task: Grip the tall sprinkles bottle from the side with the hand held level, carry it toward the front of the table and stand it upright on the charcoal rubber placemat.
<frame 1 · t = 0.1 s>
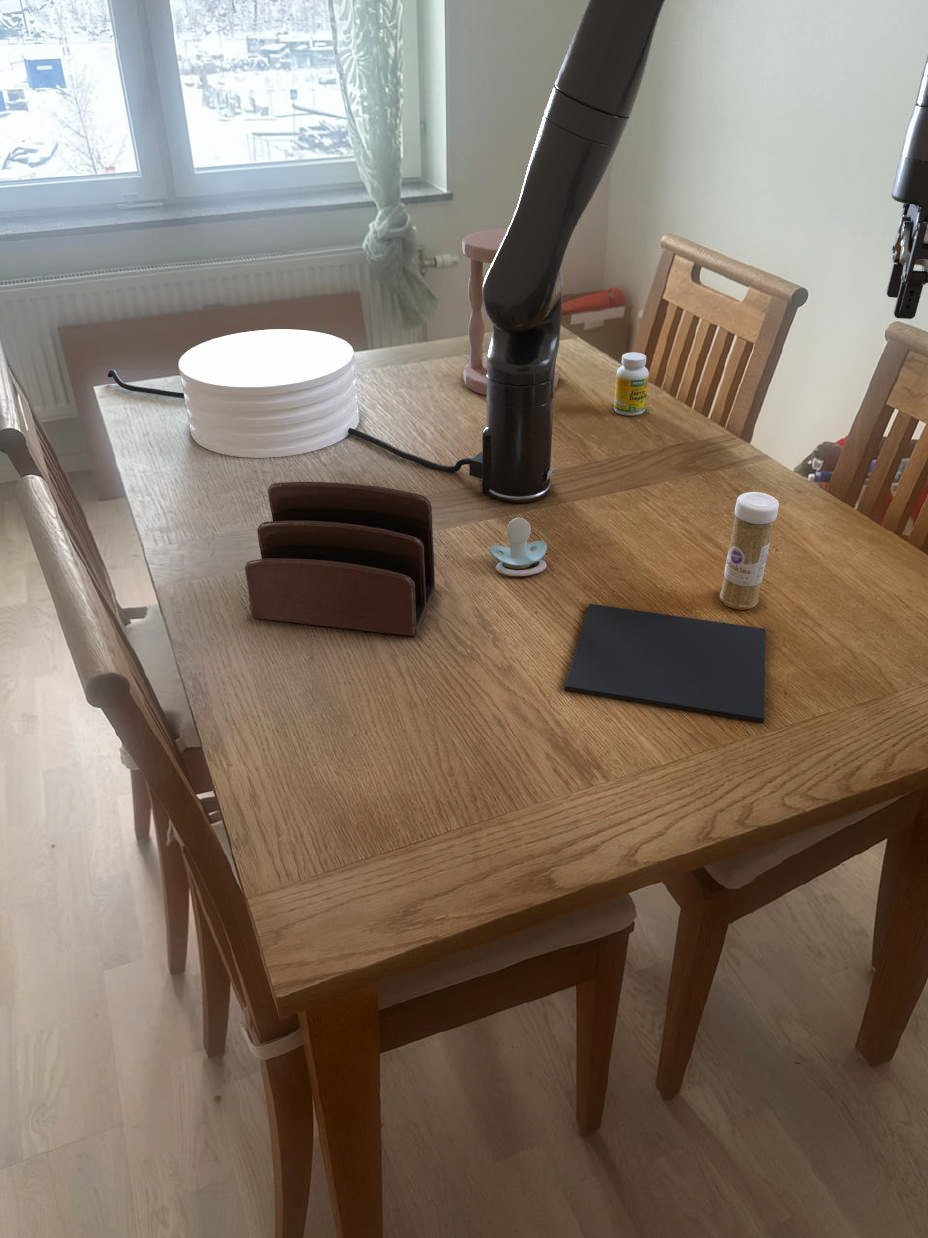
hand: (899, 306, 107), 29 cm above the table, tool pointing down, fingers open, 8 cm apart
hourglass: (510, 382, 171), on the table
sprinkles bottle: (738, 602, 110), on the table
supplement bottle: (629, 411, 158), on the table
pacifier: (519, 567, 116), on the table
plate stack: (276, 423, 155), on the table
placemat: (668, 660, 100), on the table
letter holder: (346, 607, 109), on the table
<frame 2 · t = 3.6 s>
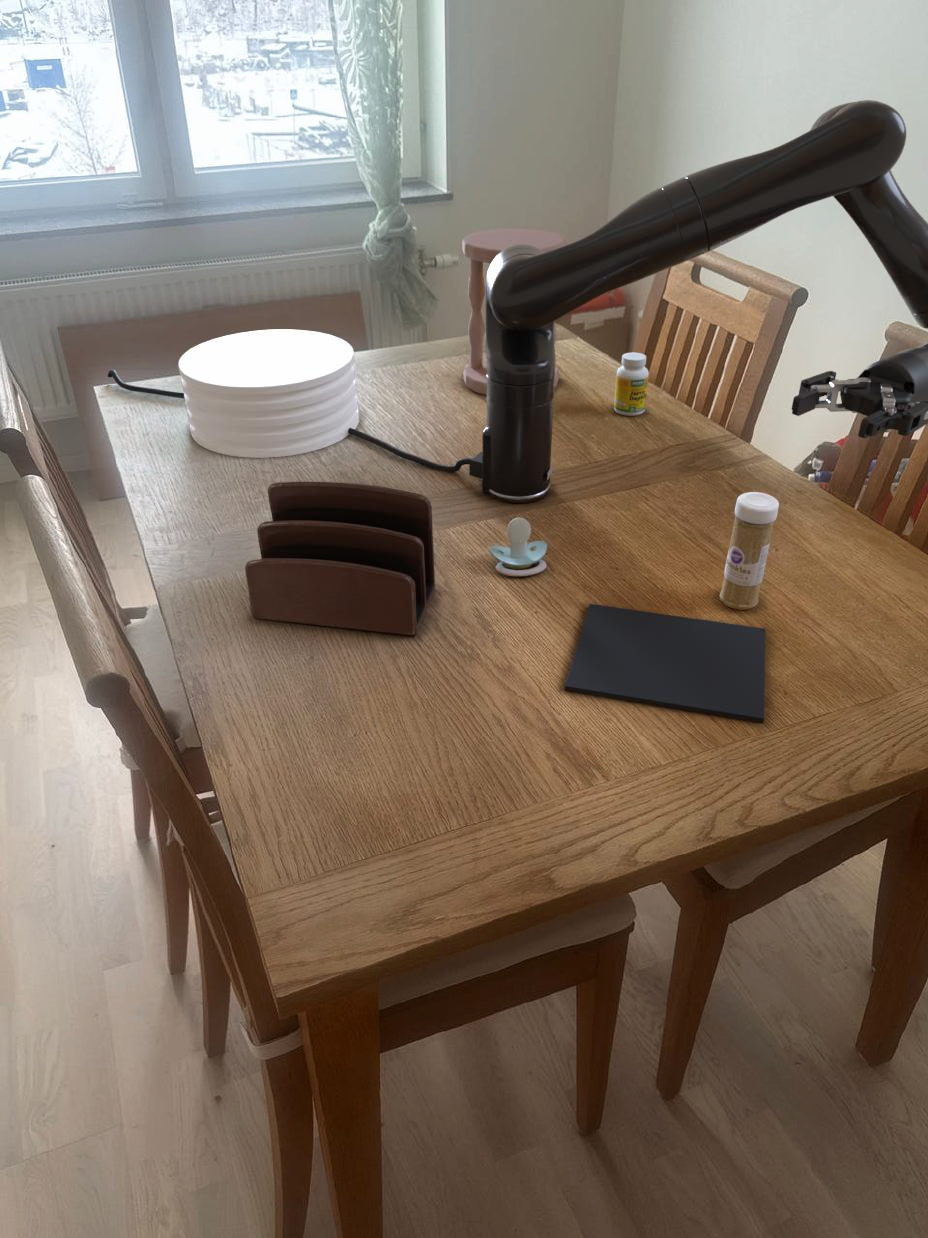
hand: (828, 417, 104), 20 cm above the table, tool horizontal, fingers open, 8 cm apart
nothing on the table moved.
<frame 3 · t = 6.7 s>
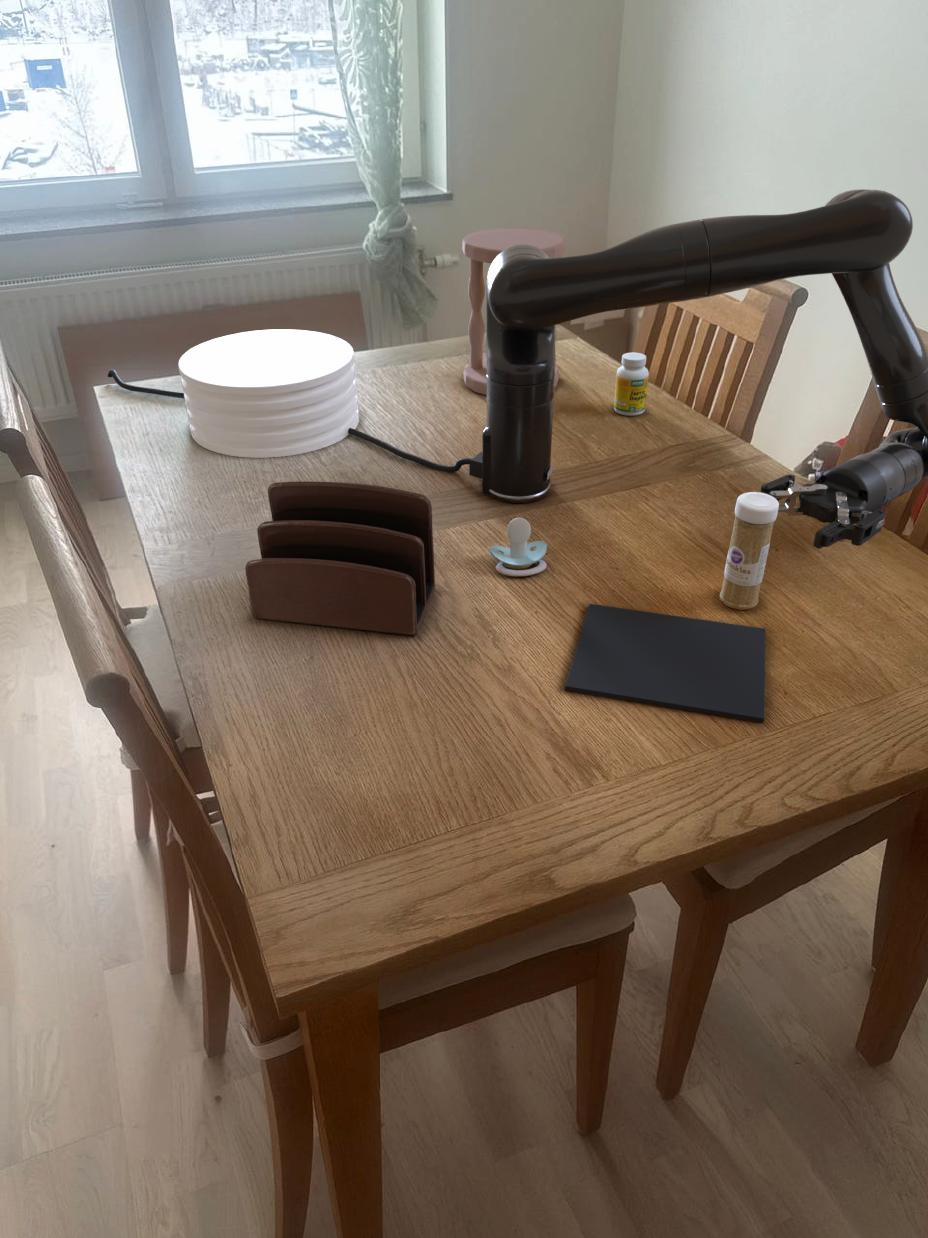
hand: (785, 527, 109), 7 cm above the table, tool horizontal, fingers open, 8 cm apart
nothing on the table moved.
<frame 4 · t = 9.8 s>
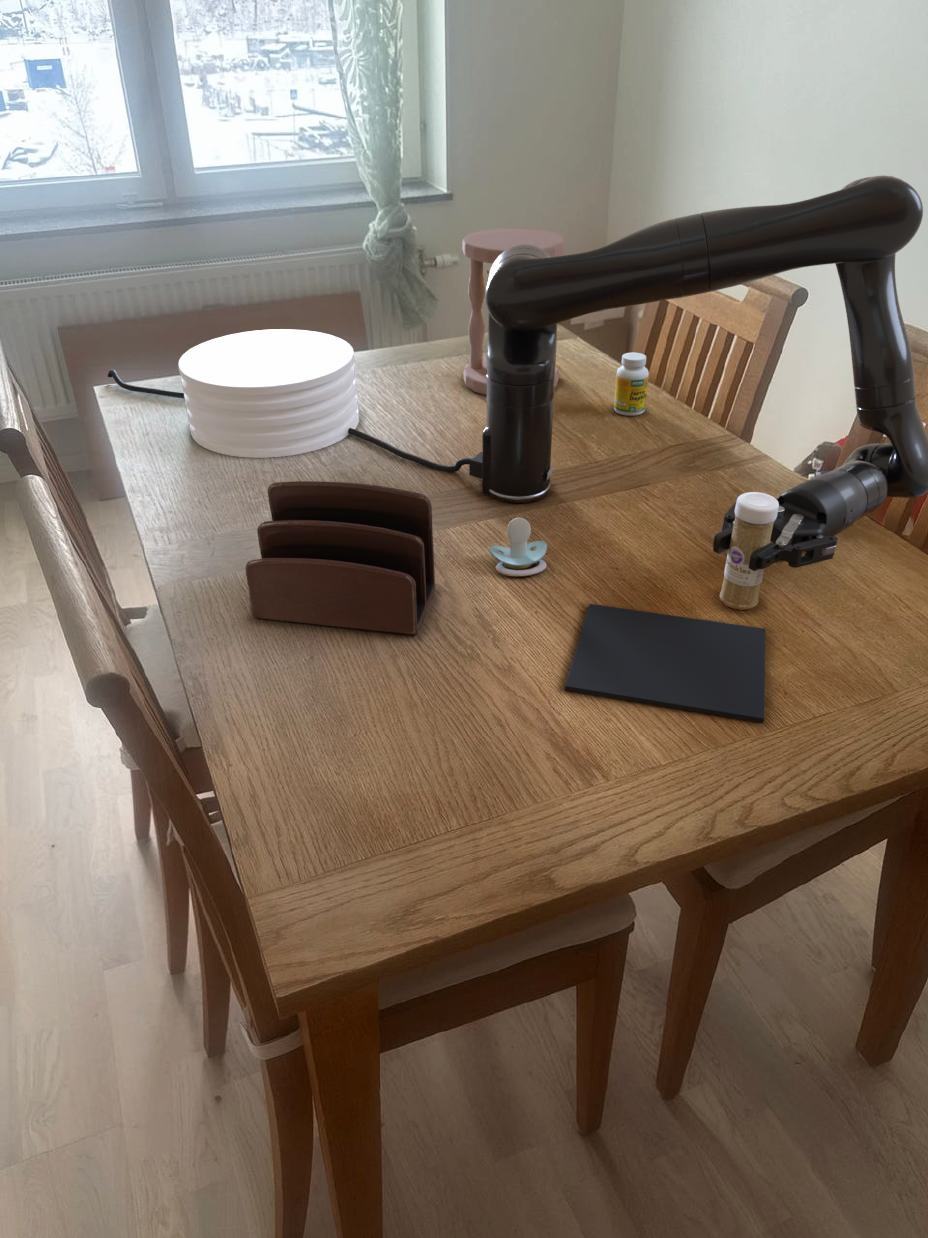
hand: (734, 553, 104), 8 cm above the table, tool horizontal, fingers closed on sprinkles bottle, 4 cm apart
sprinkles bottle: (738, 602, 110), on the table, touching gripper
everything else where it was.
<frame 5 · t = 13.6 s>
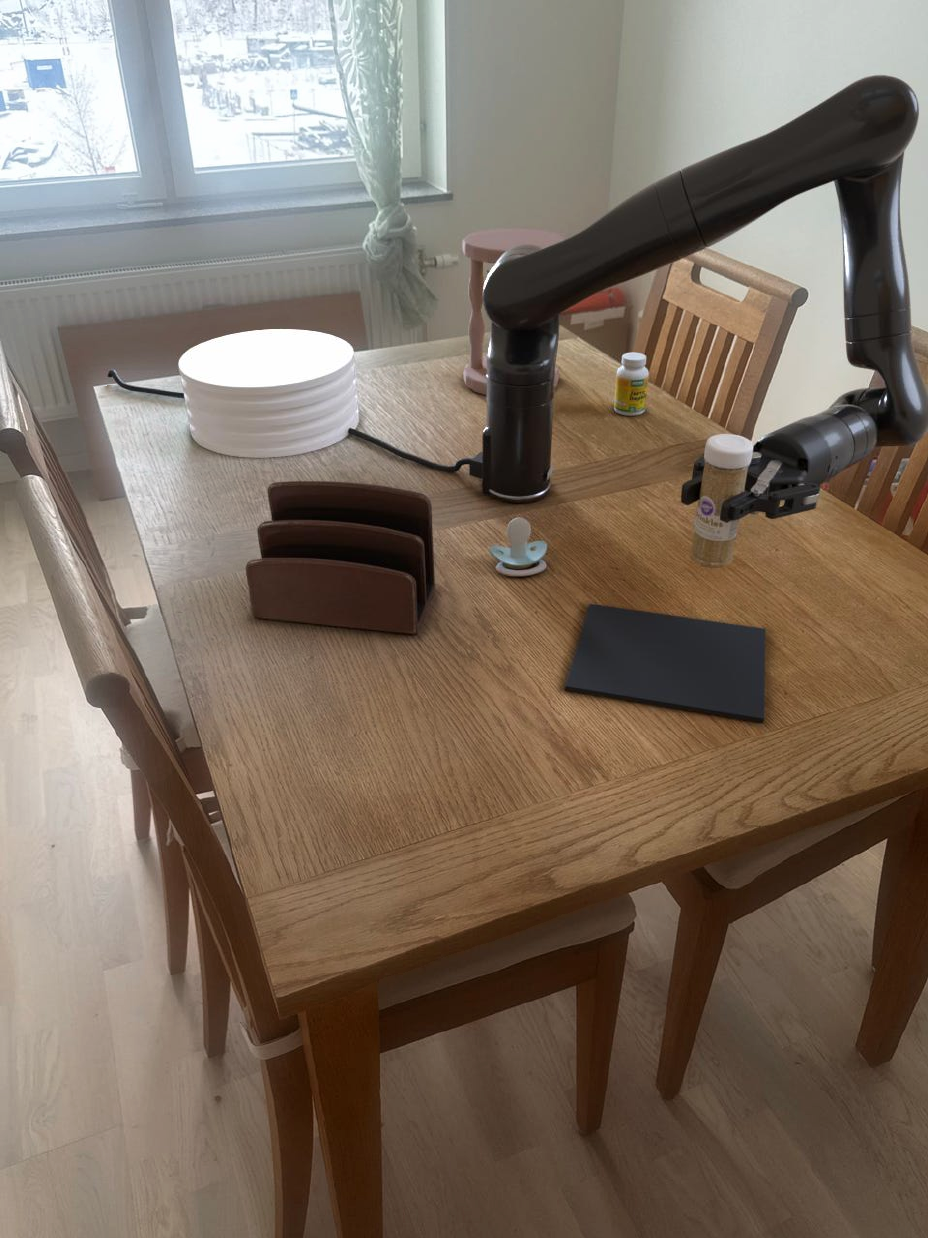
hand: (704, 504, 92), 18 cm above the table, tool horizontal, fingers closed on sprinkles bottle, 4 cm apart
sprinkles bottle: (710, 560, 98), point 10 cm above the table, touching gripper
everything else where it was.
when the fingers open (8 cm above the table, at t = 17.7 s): sprinkles bottle stays where it is, resting on placemat.
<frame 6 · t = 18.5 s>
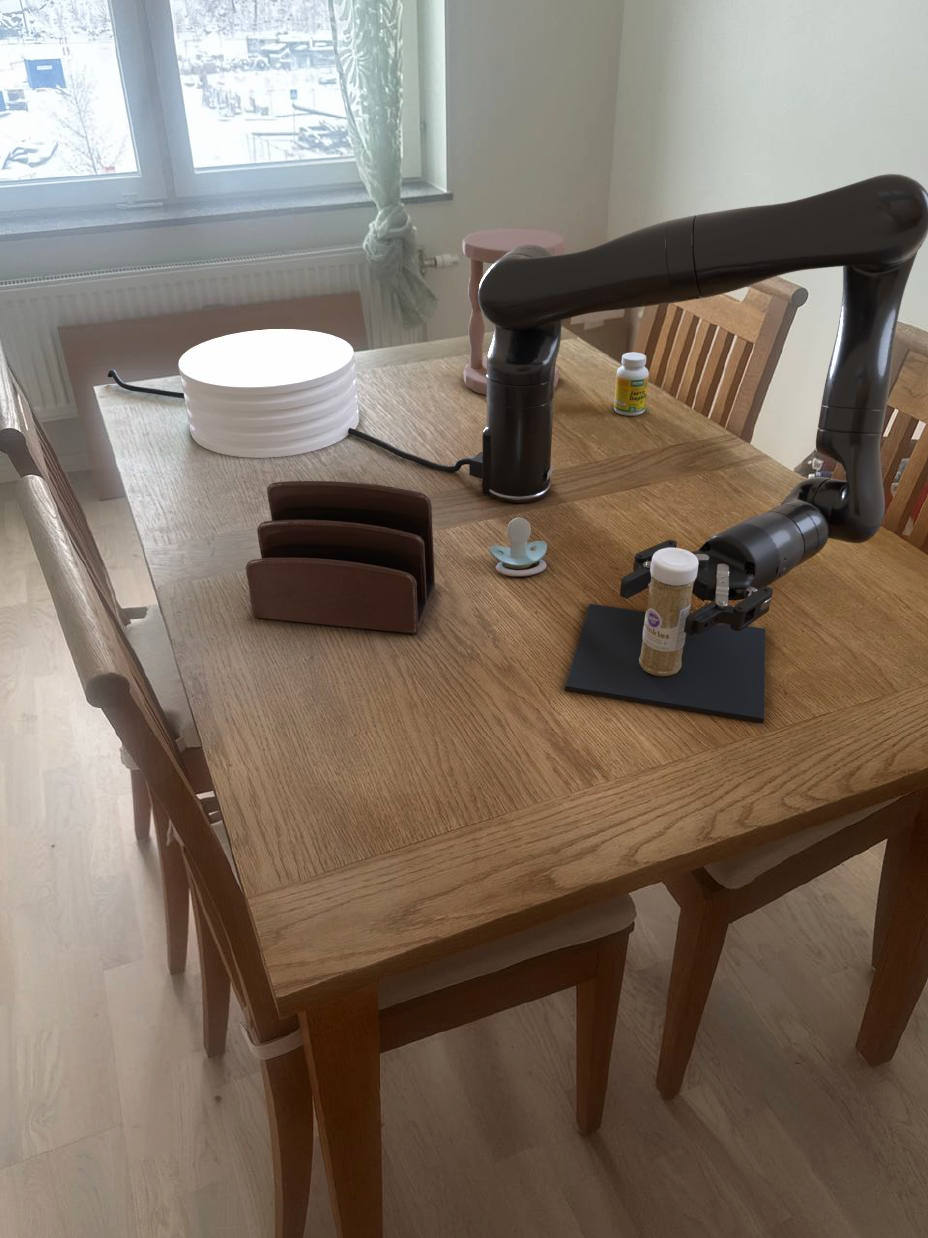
hand: (654, 607, 93), 9 cm above the table, tool horizontal, fingers open, 8 cm apart
sprinkles bottle: (659, 666, 98), resting on placemat
everything else where it was.
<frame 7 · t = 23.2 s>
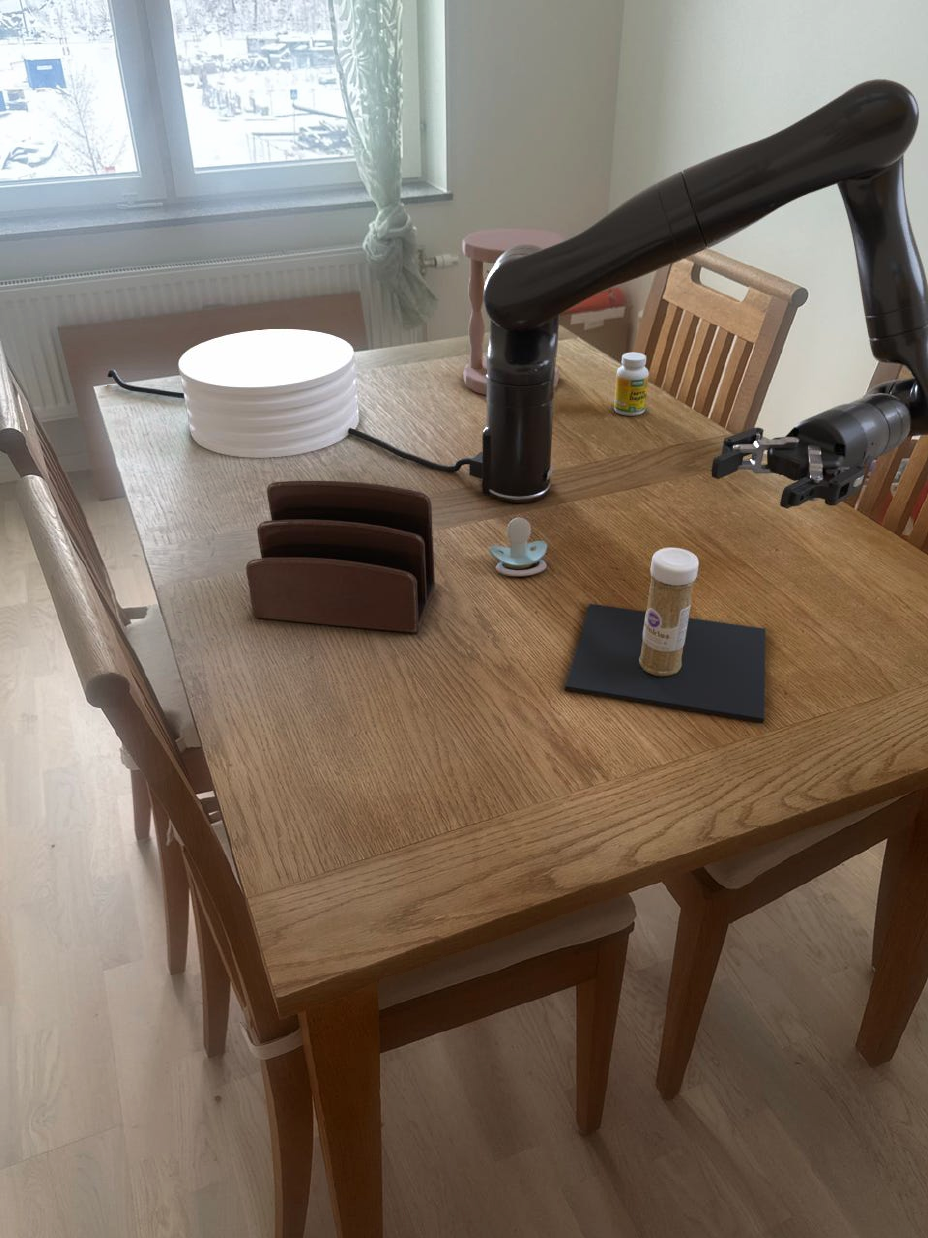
hand: (748, 483, 94), 19 cm above the table, tool horizontal, fingers open, 8 cm apart
nothing on the table moved.
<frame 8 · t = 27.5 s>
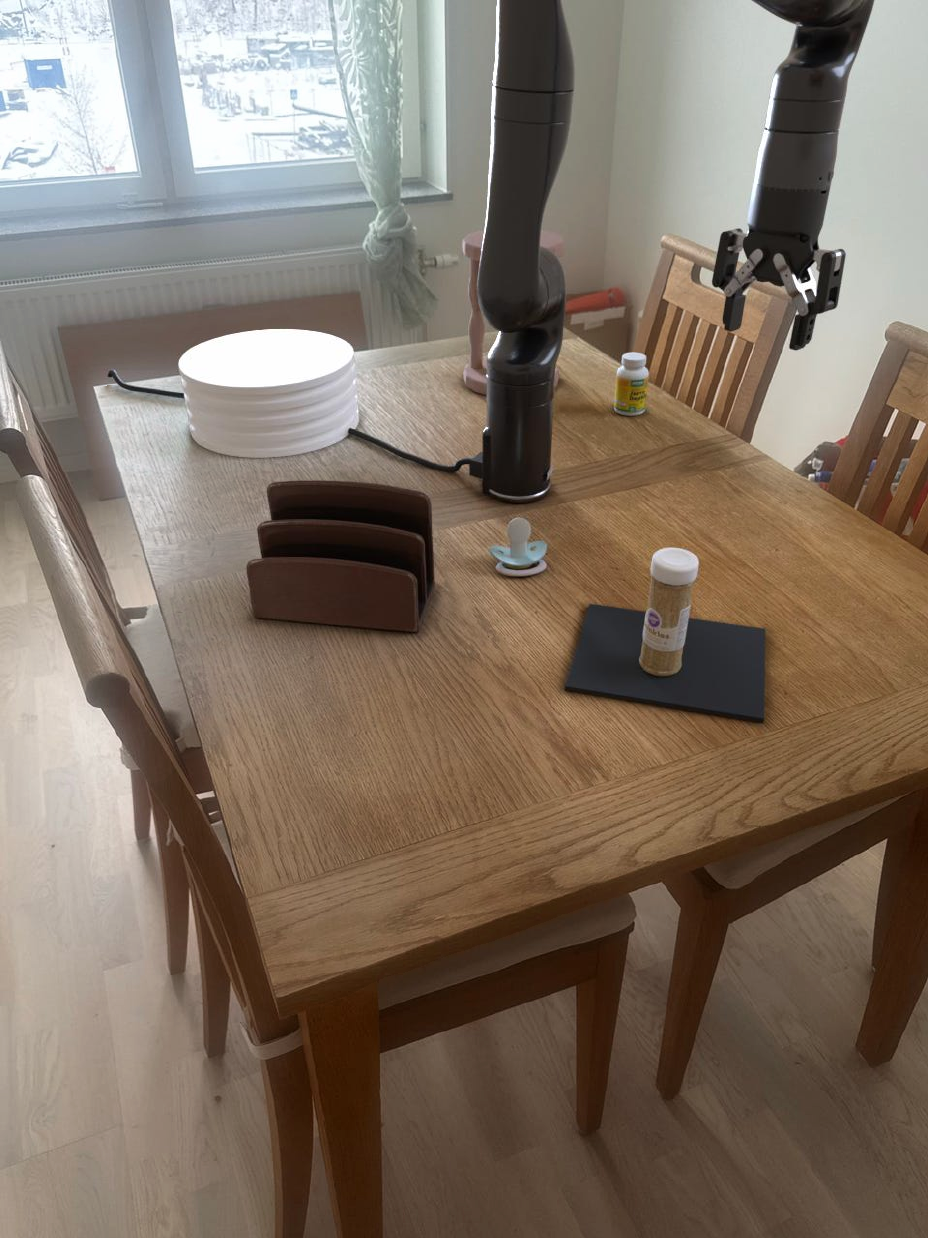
hand: (763, 338, 102), 28 cm above the table, tool pointing down, fingers open, 8 cm apart
nothing on the table moved.
at the end: sprinkles bottle inside the target area on the placemat (2.1 cm from its centre), point 0.4 cm above the placemat's base; sprinkles bottle tilted 0°; the gripper is holding nothing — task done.
